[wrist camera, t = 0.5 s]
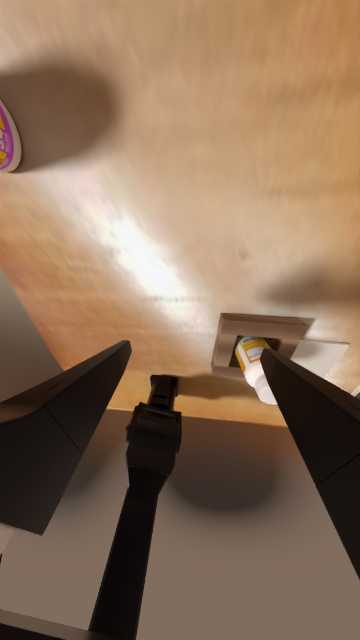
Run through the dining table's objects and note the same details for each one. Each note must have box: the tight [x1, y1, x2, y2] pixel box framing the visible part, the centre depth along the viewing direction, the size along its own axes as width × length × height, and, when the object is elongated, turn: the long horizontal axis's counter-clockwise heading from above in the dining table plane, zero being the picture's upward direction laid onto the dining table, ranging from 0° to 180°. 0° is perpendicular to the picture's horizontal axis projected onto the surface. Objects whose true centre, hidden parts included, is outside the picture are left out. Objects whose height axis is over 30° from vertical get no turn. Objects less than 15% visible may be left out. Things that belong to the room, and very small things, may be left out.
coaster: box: [290, 339, 349, 378], centre depth 25 cm, size 9×9×1 cm
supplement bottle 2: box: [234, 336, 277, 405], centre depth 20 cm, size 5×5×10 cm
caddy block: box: [211, 313, 309, 378], centre depth 23 cm, size 12×12×2 cm
